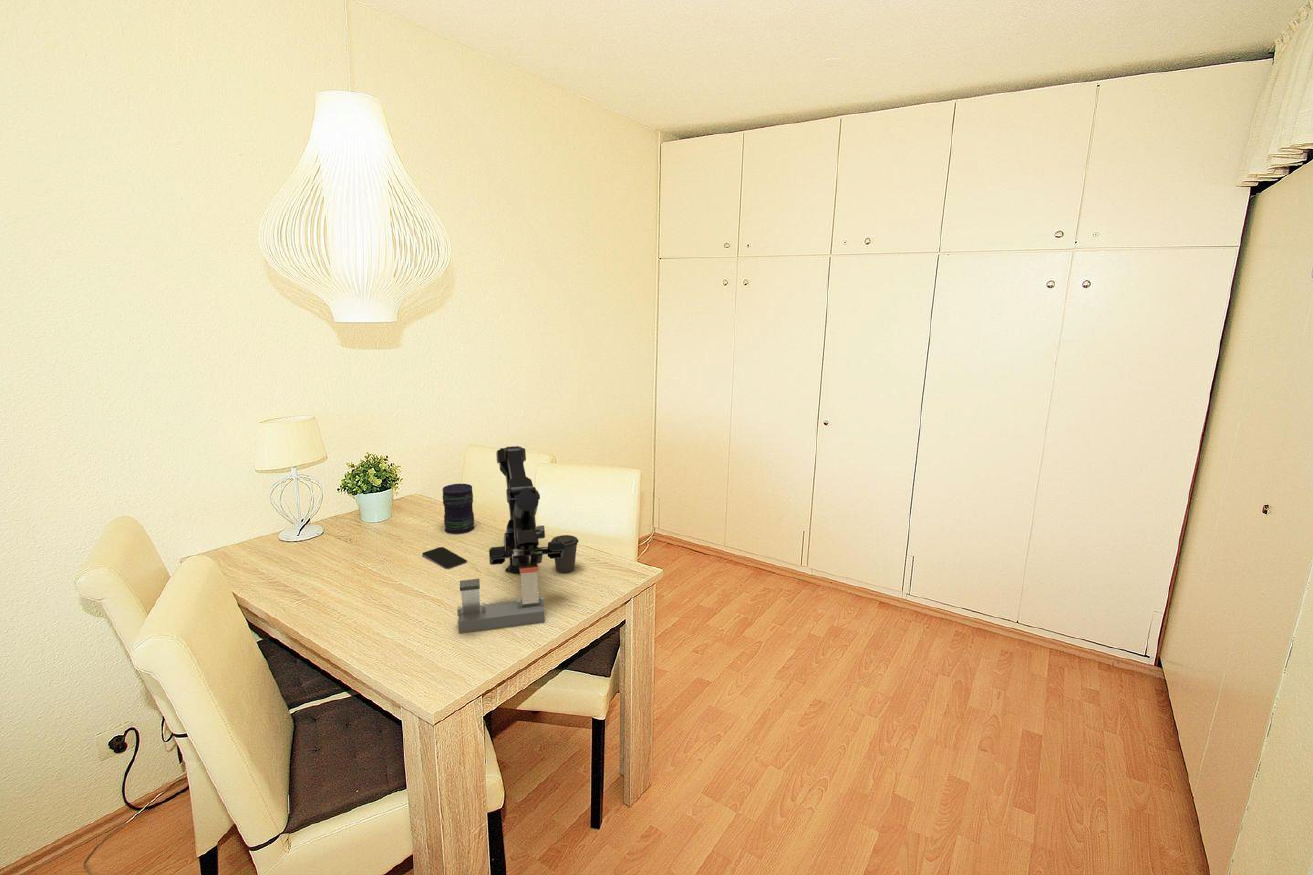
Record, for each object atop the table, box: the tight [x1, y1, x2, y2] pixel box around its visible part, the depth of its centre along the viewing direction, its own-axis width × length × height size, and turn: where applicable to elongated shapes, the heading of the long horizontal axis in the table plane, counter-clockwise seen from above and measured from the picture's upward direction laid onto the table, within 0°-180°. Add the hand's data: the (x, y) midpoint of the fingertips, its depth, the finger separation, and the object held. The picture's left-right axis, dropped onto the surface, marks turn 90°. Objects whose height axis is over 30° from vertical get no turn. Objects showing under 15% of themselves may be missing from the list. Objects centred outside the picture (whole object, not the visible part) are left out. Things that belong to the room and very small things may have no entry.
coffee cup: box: [550, 534, 579, 574], centre depth 171 cm, size 8×8×10 cm
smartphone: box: [421, 546, 468, 570], centre depth 178 cm, size 7×1×15 cm
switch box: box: [456, 595, 545, 634], centre depth 143 cm, size 7×20×5 cm, turn 107°
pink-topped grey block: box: [519, 564, 540, 604], centre depth 145 cm, size 2×4×9 cm, turn 106°
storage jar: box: [442, 483, 475, 535], centre depth 200 cm, size 10×10×15 cm
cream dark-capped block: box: [459, 578, 481, 614], centre depth 139 cm, size 2×4×9 cm, turn 107°
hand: (529, 585), depth 146 cm, fingers closed, pressing on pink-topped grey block
